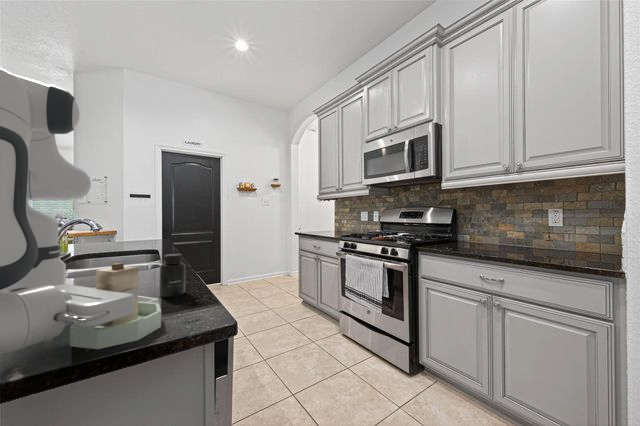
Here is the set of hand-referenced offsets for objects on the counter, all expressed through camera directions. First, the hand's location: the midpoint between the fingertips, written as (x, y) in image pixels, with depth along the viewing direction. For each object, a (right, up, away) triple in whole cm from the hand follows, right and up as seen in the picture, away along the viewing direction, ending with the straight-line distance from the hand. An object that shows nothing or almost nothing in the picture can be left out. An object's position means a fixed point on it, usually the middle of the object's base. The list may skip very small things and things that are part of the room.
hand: (124, 290), depth 56 cm
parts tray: (-8, -8, +10) cm, 15 cm away
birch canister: (0, -6, -1) cm, 6 cm away
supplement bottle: (-3, -8, +23) cm, 25 cm away
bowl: (0, -8, -1) cm, 8 cm away
